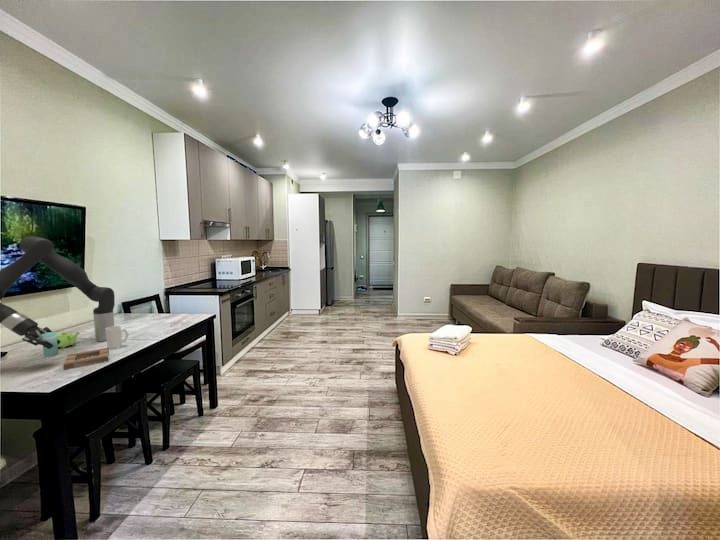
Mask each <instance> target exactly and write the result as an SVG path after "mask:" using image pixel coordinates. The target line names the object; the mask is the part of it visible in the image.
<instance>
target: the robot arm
mask: <svg viewBox="0 0 720 540" xmlns="http://www.w3.org/2000/svg"><path fill="white" fill-rule="evenodd" d="M19 248H20V249H21V250H22V251H23V252H24V253H23V254H22V255H21V256H20V257H19V258H18V259H16V260H15V261H13V262H11V263H10V264H8V265H7V266H5V267H3V268H2V269H1V270H0V301H1V300H2V298H4V297H5V294H6V293H7V291H8V290H9V289H11V288H12V286H13V285H14V284H16V282H17V281H18V280H20V278H21V277H22V276H24V274H25V273H26V272H28V271H29V270H30V269H31V268H32V267H34V266H36V265H37V264H38V263H39V262H41V263H43V264H44V265H45V266H47V267H48V268H49V269H50V270H51V271H53V272H54V273H55V274H57V275H58V276H59V277H60V278H62V279H63V280H65V281H66V282H68V283H69V284H71V285H72V286H73V287H75V288H77V289H78V290H79V291H80V292H82V294H83V295H85V296H86V297H87V298H88V299H89V300H90V301H92V302H97V303H98V306H97V307H94V308H93V310H92V311H93V312H92V313H93V324H94V337H95V338H94V339H95V340H94V341H95V342H105V341H106V342H107V339H106V328H108V327H112V326H115V317H114V309H115V305H116V304H115V301H116V300H115V296H116V295H115V292H114V290H113V288H111V287H105V286H98V285H97V284H95V283H93V282H92V281H91V280H90V279H89V277H88V273H86V271H85V270H84V269H83V268H82V267H80V266H79V265H78V264H76V263H75V262H74V261H72V260H70V259H68V258H66V257H64V256H62V255H61V254H58V253H57V252H56V251H54V243H53V242H52V241H51V240H49V239H47V238H44V237H40V236H33V235H32V236H25V237H23V238H22V239H20V240H19ZM0 324H1V325H2V326H3V327H5V328H6V329H8V330H9V331H11V332H12V333H14V334H16V335H18V336H20V337H22V338H21V340H22V341H25V342H26V343H29V344H31V345H34V346H42V347H43V346H44V347H46V348H48V349H50V348H52V347H53V346H54V345H53V344H51V343H49V342H48V341H46V340H45V339H43V336H42V334H44V333H49V332H53V331H52V330H51V329H50V328H49V327H48V326H46V327H45V326H44V328H41V327H39V326H38V325H39V323H38V322H36V321H35V320H33V319H32V318H30V317H28V316H26V315H25V314H24V313H21V312H19V311H17V310H15V309H14V308H12V307H11V306H8V305H6V304H4V303H2V302H0ZM23 336H24V337H23ZM60 342H61V341H60V340H58V339H57V344H59V343H60Z"/></svg>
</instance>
